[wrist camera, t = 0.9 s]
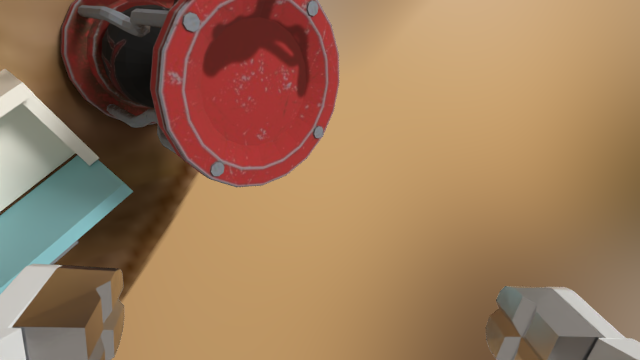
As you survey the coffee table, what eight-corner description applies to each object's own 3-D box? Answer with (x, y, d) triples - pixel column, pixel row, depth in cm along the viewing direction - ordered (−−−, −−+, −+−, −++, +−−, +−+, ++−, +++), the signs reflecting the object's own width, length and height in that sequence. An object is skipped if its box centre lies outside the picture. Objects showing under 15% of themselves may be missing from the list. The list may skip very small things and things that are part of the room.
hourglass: (225, 40, 53) (367, 62, 37) (161, 144, 52) (279, 215, 35) (112, -60, 41) (247, -96, 25) (25, 71, 40) (107, 126, 23)
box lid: (-61, 262, 38) (-53, 333, 30) (85, 148, 44) (124, 182, 36) (-41, 273, 40) (-29, 343, 32) (98, 161, 45) (139, 197, 37)
